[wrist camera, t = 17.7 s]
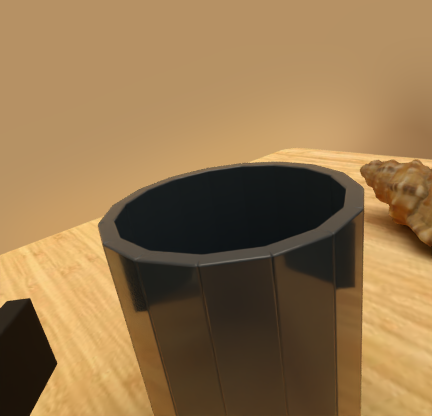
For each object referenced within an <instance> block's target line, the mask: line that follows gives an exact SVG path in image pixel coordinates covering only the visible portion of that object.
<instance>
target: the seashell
mask: <svg viewBox="0 0 432 416" xmlns="http://www.w3.org/2000/svg"><path fill="white" fill-rule="evenodd" d="M360 172H361V175H362V177H364V178H365V180H366V183H367V185H368V186H370V187H372V188H373V190H374V192H375V194H376V198H378V199H379V200H380V201H381V202H384V203H387V204H389V206H390V208H389V216H390V217H392V218H393V222H394V223H396V224H400V225H407V226H409V227H410V228H411V229H412V230H413V232H414V233H415V234H416V235H417V236H418V238H419V239H420V240H421V241H422V242H424V243H425V244H427V245H429V246H430V247H432V169H430V168H429V167H427V166H424V165H423V164H422V163H421V161H420V160H413V161H412V162H410V163H398V162H396V161H395V160H390V161H386V162H381V161H379V160H376V161H371V162H370V163H369V164H365V165H364V166H363V167H361V169H360Z"/></svg>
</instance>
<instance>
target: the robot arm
mask: <svg viewBox="0 0 432 416" xmlns="http://www.w3.org/2000/svg"><path fill="white" fill-rule="evenodd" d="M56 365H57V361H56V359H55V356H54V354H53V352H52V349H51V347H50V345H49V342H48V340H47V337H46V335H45V333H44V330H43V328H42V326H41V323H40V321H39V318H38V316H37V314H36V311H35V309H34V307H33V304H32V302H31V299H30V298H28V299H20V300H13V301H7V302H6V303H5V304H4V305H3V306H2V307H1V308H0V416H30V414H31V412H32V410H33V408H34V406H35V405H36V403H37V401H38V399H39V397H40V395H41V393H42V391H43V390H44V388H45V386H46V384H47V382H48V380H49V378H50V377H51V375H52V373H53V371H54V369H55V367H56Z"/></svg>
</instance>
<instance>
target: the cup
mask: <svg viewBox="0 0 432 416" xmlns="http://www.w3.org/2000/svg"><path fill="white" fill-rule="evenodd" d="M98 228H99V233H100V237H101V241H102V245H103V249H104V252H105V255H106V258H107V262H108V265H109V268H110V272H111V275H112V278H113V282H114V285H115V288H116V291H117V295H118V298H119V301H120V305H121V308H122V311H123V314H124V318H125V321H126V324H127V328H128V331H129V334H130V337H131V341H132V344H133V347H134V351H135V354H136V357H137V361H138V364H139V367H140V370H141V374H142V377H143V380H144V384H145V387H146V390H147V393H148V397H149V400H150V403H151V407H152V410H153V413H154V416H361V362H362V302H363V242H364V188H363V187H362V186H361V185H360V184H358V183H357V182H356V181H354V180H353V179H352V178H350V177H349V176H348V175H346V174H345V173H343V172H340V171H336V170H332V169H329V168H325V167H321V166H317V165H312V164H301V163H289V162H258V163H242V164H241V163H240V164H233V165H226V166H219V167H212V168H206V169H201V170H197V171H193V172H190V173H185V174H181V175H178V176H174V177H171V178H168V179H165V180H162V181H160V182H157V183H154V184H152V185H149V186H146V187H144V188H141V189H139V190H137V191H135V192H134V193H132V194H130V195H129V196H127V197H126V198H124V199H122V200H121V201H119V202H117V203H116V204H114V205H113V206H112V207H111V208H110V210H109V211H108V212H107V213H106V215H105V216H104V217H103V218H102V220H101V221H100V222H99V225H98Z"/></svg>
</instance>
